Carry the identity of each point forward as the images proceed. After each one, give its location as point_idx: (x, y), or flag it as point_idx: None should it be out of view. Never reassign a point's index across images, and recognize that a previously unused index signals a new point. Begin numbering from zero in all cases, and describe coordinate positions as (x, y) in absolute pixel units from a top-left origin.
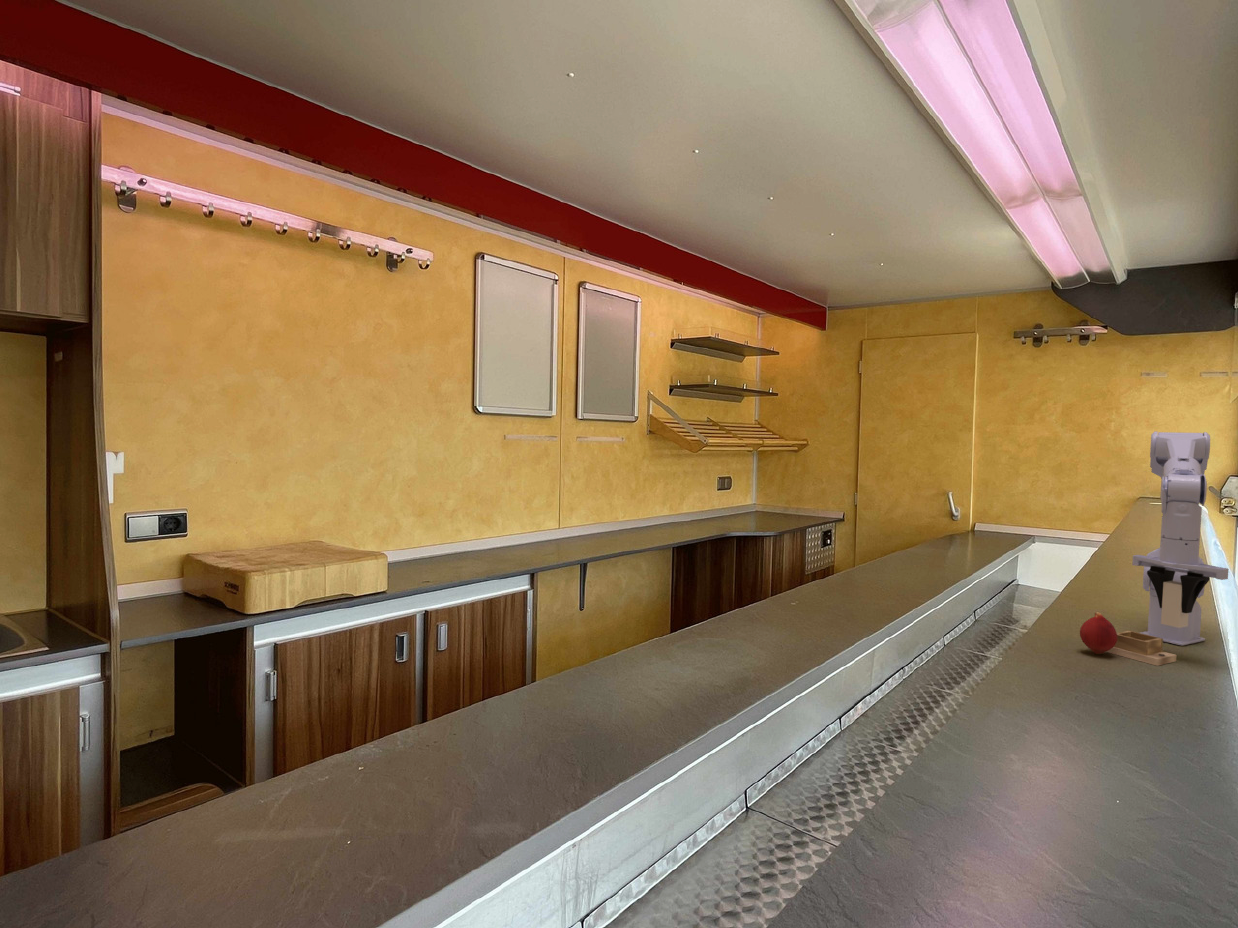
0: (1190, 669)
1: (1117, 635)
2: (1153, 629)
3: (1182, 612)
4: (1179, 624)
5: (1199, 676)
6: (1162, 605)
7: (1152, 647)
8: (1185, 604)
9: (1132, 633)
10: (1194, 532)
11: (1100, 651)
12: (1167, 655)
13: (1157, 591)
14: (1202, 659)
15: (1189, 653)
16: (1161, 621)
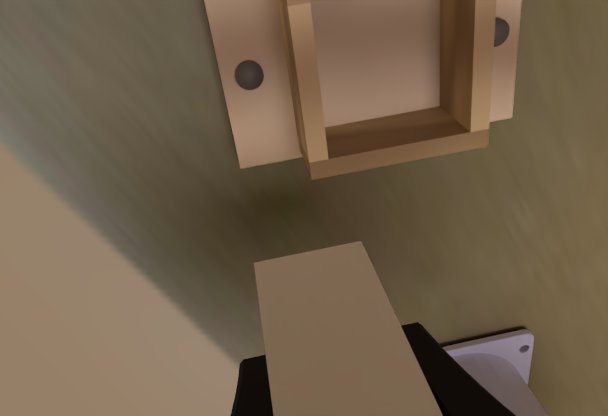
0: (119, 97)
1: None
2: (497, 373)
3: (265, 355)
4: (256, 275)
5: (3, 20)
6: (399, 329)
7: (290, 58)
8: (240, 408)
9: (459, 131)
10: None
11: None
12: (244, 111)
13: (494, 413)
14: (235, 292)
15: None
16: (362, 249)
